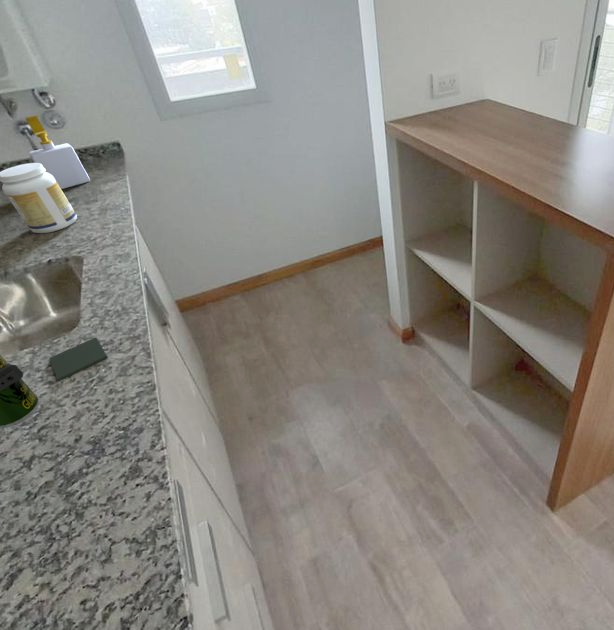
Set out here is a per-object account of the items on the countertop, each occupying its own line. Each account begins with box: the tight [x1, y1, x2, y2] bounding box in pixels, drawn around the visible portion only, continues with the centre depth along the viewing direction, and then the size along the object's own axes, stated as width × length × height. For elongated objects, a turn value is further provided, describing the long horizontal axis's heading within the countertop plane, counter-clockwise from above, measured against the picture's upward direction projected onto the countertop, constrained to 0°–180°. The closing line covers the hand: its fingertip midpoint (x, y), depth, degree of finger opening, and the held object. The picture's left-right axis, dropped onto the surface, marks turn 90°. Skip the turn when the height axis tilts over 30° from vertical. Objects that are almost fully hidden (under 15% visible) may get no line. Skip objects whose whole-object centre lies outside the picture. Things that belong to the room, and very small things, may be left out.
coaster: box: [48, 336, 109, 382], centre depth 82 cm, size 8×8×1 cm
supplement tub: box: [0, 162, 78, 234], centre depth 126 cm, size 12×12×17 cm
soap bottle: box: [25, 114, 91, 190], centre depth 152 cm, size 12×7×23 cm, turn 134°
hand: (4, 362), depth 55 cm, fingers closed on beer can, 5 cm apart
